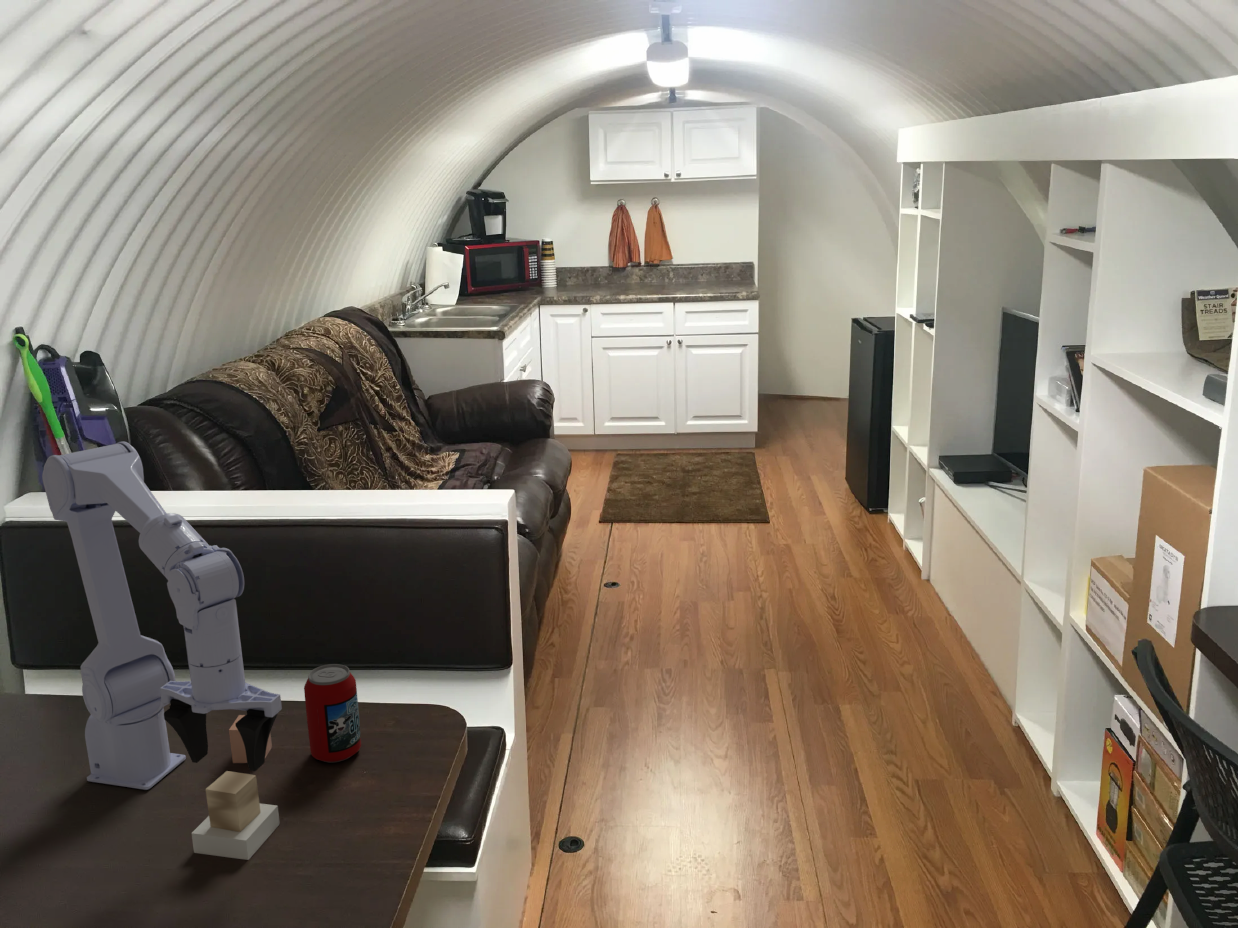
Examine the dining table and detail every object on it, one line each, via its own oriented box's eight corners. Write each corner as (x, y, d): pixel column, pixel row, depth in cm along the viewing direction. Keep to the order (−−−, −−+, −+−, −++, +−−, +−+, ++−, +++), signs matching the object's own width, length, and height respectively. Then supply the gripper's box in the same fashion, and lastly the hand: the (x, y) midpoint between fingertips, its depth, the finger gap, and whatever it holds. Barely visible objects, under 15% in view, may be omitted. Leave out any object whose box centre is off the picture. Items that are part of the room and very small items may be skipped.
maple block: (210, 826, 122) (205, 788, 120) (231, 807, 125) (226, 770, 124) (240, 831, 121) (235, 793, 119) (260, 812, 124) (256, 775, 123)
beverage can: (348, 768, 138) (341, 686, 135) (301, 763, 140) (293, 682, 136) (370, 742, 145) (363, 663, 141) (325, 737, 146) (317, 659, 143)
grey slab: (194, 855, 121) (191, 832, 121) (228, 820, 128) (225, 798, 127) (248, 862, 120) (246, 840, 119) (279, 827, 127) (277, 805, 126)
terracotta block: (232, 763, 140) (228, 729, 139) (242, 747, 144) (239, 714, 142) (262, 762, 140) (258, 729, 139) (271, 746, 144) (268, 714, 142)
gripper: (136, 664, 116) (152, 772, 120) (251, 678, 113) (263, 789, 116) (177, 638, 123) (191, 741, 126) (286, 650, 119) (297, 756, 123)
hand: (228, 762), depth 122 cm, fingers open, 7 cm apart
